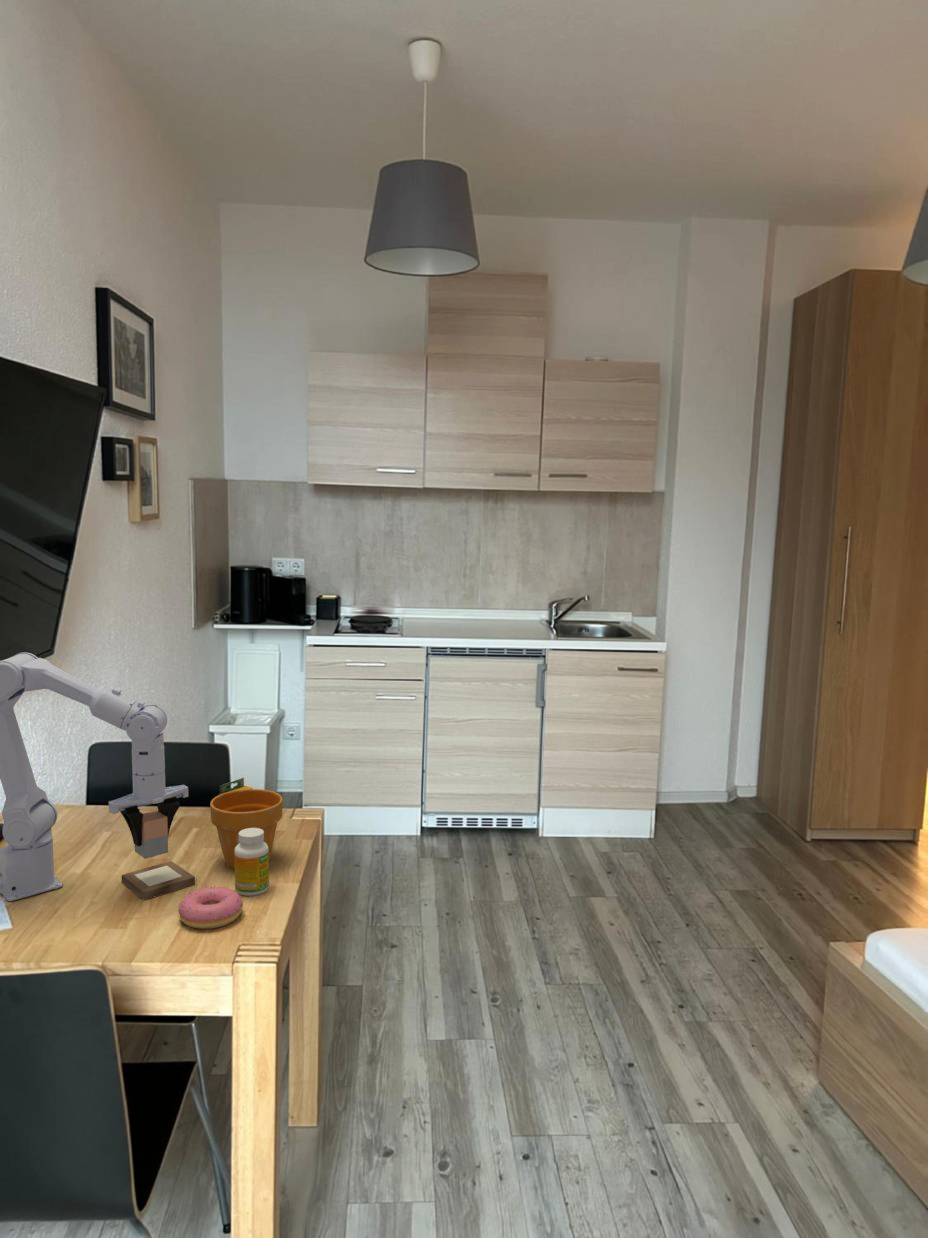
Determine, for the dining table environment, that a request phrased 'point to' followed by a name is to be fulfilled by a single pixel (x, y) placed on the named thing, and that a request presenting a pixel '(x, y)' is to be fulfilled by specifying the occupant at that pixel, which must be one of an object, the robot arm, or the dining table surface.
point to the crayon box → (238, 787)
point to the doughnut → (210, 907)
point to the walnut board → (158, 880)
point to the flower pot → (245, 817)
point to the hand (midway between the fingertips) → (150, 841)
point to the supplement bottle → (251, 863)
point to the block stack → (153, 835)
